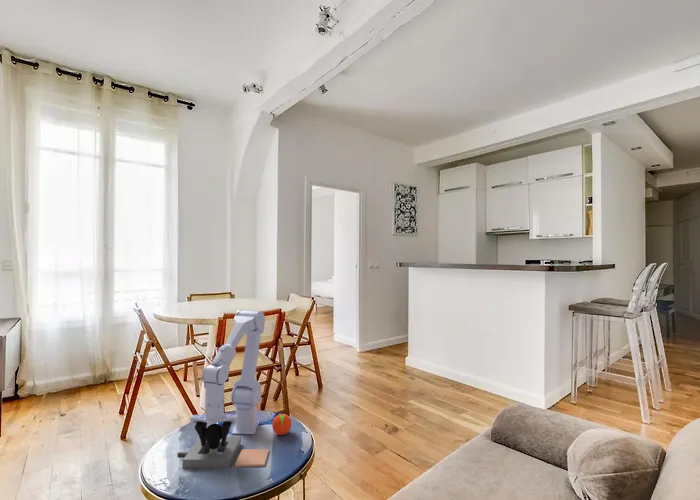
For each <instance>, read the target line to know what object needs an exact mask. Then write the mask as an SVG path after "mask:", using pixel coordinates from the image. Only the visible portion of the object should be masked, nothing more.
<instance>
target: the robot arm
mask: <svg viewBox="0 0 700 500" xmlns="http://www.w3.org/2000/svg"><path fill="white" fill-rule="evenodd" d="M265 323H266V316H265V314H264V312H263V311H262V310H258V311H257V310H244V309H238V310H237V312H236V313H235V315H234V318H233V327H232V330H231V332H230V334H229V335H228V339H227V341H226V343H225V344H223V345H221V346H220V347H219V349H218V351H217V352H216V354H215V356H214V358H213V359H212V361H211V363H210V364H208V365H206V366H205V368H204V369H203V371H202V374H201V381H202V383H203V388H204V389H205V396H204V403H205V404H204V413H202V414H192V415H191V416H190V419H189V421H190V424H195V425H194V430H195V431H196V434H197V435H198V439H199V438H200V441H201V445H202V446H204V445H205V444H206V440H205V437H204V433H205V430H206V428H207V427H208V424H210V425H211V424H215V423H216V424H219V423H222V425H221V431H222V443H221V445H222V446H224V445H225V443H226V438H227V437H228V434H229V431H230V429H231V426H232V424H235V427H234V429H233V430H232V432H231V435H254V434H255V433H256V430H257V428H258V426H259V424H260V421H258V420H257V419H258V417H257V413H258V410H257V409H258V405H259V403H260V402H261V399H262V391H261V389H262V384H261V383H260V382H259V381H258V380H257V379H256V373H257V366H258V358H259V350H260V344H261V335H262V333H264V329H265ZM245 334H246V339H245V340H246V341H245V348H244V354H243V362H242V368H241V376H240V378H239V379H238V380H237V381H235V382H234V384H233V388H232V391H231V393H230V401H231V403H232V404H233V406H234V407H235V414H230V413H224V411H225V407H224V406H225V383H226V382H227V380H228V378H229V372H230V370H231V368H230V366H231V364H232V363H233V361H234V359H235V357H236V354H237V351H236V347H237V346H238V344H240V342H241V340H242V339H243V337H244V336H245Z"/></svg>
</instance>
